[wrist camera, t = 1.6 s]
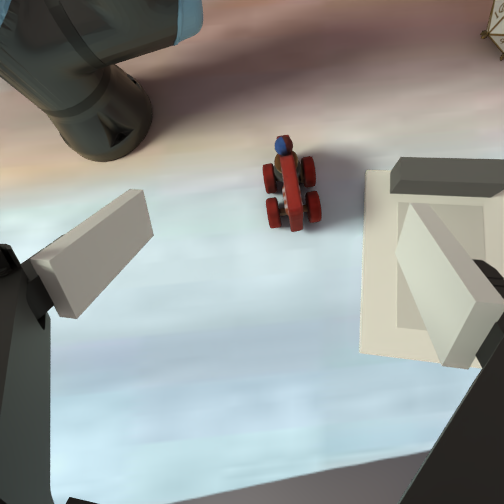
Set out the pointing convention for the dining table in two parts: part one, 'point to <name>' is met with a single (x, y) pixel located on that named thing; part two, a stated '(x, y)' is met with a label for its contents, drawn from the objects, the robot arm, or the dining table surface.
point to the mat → (391, 275)
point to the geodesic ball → (496, 26)
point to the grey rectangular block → (447, 177)
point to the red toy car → (291, 186)
